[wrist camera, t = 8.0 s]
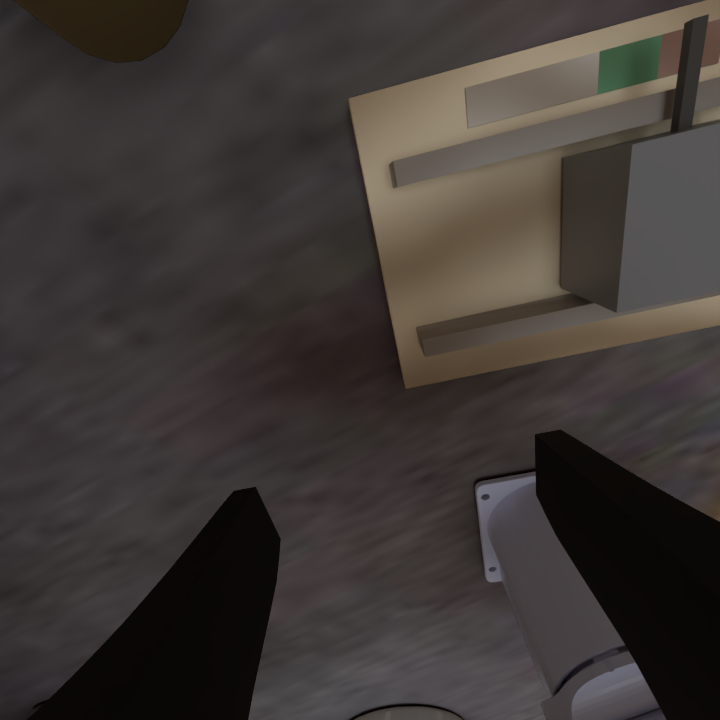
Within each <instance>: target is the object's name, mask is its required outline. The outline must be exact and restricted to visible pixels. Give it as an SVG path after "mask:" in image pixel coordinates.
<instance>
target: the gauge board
mask: <svg viewBox="0 0 720 720" xmlns="http://www.w3.org/2000/svg"><path fill="white" fill-rule="evenodd" d="M708 14H709V18H708V25H707V31H706V38H705V44H704V51H703V57H702V64H701V70H700V77H699V83H698V90H697V96H696V103H695V109H694V116H693V122H692V125H696V124H700V123H704V122H709V121H713V120H718V119H720V0H705V1H702V2H698V3H694V4H691V5H687V6H684V7H680V8H676V9H673V10H669V11H665V12H662V13H658V14H654V15H651V16H647V17H644V18H640V19H636V20H633V21H629V22H625V23H622V24H618V25H614V26H611V27H607V28H604V29H600V30H596V31H593V32H589V33H585V34H582V35H578V36H574V37H571V38H567V39H564V40H560V41H556V42H553V43H549V44H545V45H542V46H538V47H534V48H531V49H527V50H524V51H520V52H516V53H513V54H509V55H505V56H502V57H498V58H494V59H491V60H487V61H484V62H480V63H476V64H473V65H469V66H465V67H462V68H458V69H454V70H451V71H447V72H443V73H440V74H436V75H433V76H429V77H425V78H422V79H418V80H414V81H411V82H407V83H403V84H400V85H396V86H393V87H389V88H385V89H382V90H378V91H374V92H371V93H367V94H363V95H360V96H356V97H353V98H349V99H348V100H349V110H350V115H351V120H352V125H353V130H354V135H355V140H356V145H357V150H358V155H359V160H360V165H361V171H362V176H363V181H364V186H365V191H366V196H367V201H368V206H369V211H370V216H371V221H372V226H373V231H374V236H375V241H376V246H377V251H378V256H379V261H380V266H381V271H382V276H383V282H384V287H385V292H386V297H387V302H388V307H389V312H390V317H391V322H392V327H393V332H394V337H395V342H396V347H397V352H398V357H399V362H400V367H401V372H402V377H403V381H404V385H405V388H406V389H408V388H413V387H418V386H423V385H428V384H433V383H438V382H443V381H448V380H452V379H457V378H462V377H467V376H472V375H477V374H482V373H487V372H492V371H497V370H502V369H506V368H511V367H516V366H521V365H526V364H531V363H536V362H541V361H546V360H551V359H555V358H560V357H565V356H570V355H575V354H580V353H585V352H590V351H595V350H600V349H605V348H609V347H614V346H619V345H624V344H629V343H634V342H639V341H644V340H649V339H654V338H658V337H663V336H668V335H673V334H678V333H683V332H688V331H693V330H698V329H703V328H708V327H712V326H717V325H720V291H718V292H714V293H709V294H704V295H700V296H695V297H690V298H685V299H681V300H676V301H671V302H666V303H662V304H657V305H652V306H647V307H643V308H638V309H633V310H628V311H624V312H619V313H616V312H613V311H611V310H609V309H607V308H604V307H602V306H600V305H598V304H595V303H593V302H591V301H589V300H586V299H584V298H582V297H580V296H577V295H575V294H573V293H571V292H568V291H566V290H564V289H562V288H561V261H562V214H563V167H564V157H567V156H571V155H575V154H579V153H583V152H587V151H592V150H596V149H600V148H604V147H608V146H612V145H616V144H620V143H624V142H628V141H632V140H636V139H640V138H644V137H648V136H652V135H656V134H660V133H664V132H668V131H670V129H671V122H672V114H673V106H674V99H675V91H676V84H677V76H678V68H679V61H680V53H681V46H682V38H683V30H684V23H686V22H688V21H690V20H692V19H693V18H697V17H701V16H704V15H708Z"/></svg>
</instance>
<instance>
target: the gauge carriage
mask: <svg viewBox="0 0 720 720" xmlns="http://www.w3.org/2000/svg"><path fill="white" fill-rule="evenodd" d="M708 18H709V14H708V15H704V16H701V17H697V18H693V19H692V20H690V21H688V22H686V23H684V30H683V38H682V46H681V53H680V61H679V68H678V76H677V84H676V91H675V99H674V106H673V114H672V122H671V129H670V131H668V132H664V133H660V134H656V135H652V136H648V137H644V138H640V139H636V140H632V141H628V142H624V143H620V144H616V145H612V146H608V147H604V148H600V149H596V150H592V151H587V152H583V153H579V154H575V155H571V156H567V157H564V167H563V214H562V261H561V288H562V289H564V290H566V291H568V292H571V293H573V294H575V295H577V296H580V297H582V298H584V299H586V300H589V301H591V302H593V303H595V304H598V305H600V306H602V307H604V308H607V309H609V310H611V311H613V312H616V313H619V312H624V311H628V310H633V309H638V308H643V307H647V306H652V305H657V304H662V303H666V302H671V301H676V300H681V299H685V298H690V297H695V296H700V295H704V294H709V293H714V292H718V291H720V119H718V120H713V121H709V122H704V123H700V124H696V125H692V122H693V116H694V109H695V103H696V96H697V90H698V83H699V77H700V70H701V64H702V57H703V51H704V44H705V38H706V31H707V25H708Z"/></svg>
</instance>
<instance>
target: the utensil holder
mask: <svg viewBox="0 0 720 720" xmlns="http://www.w3.org/2000/svg"><path fill="white" fill-rule="evenodd" d="M354 720H462V719H461V718H460V717H458V716H456V715H455V714H453V713H450V712H448V711H444V710H441V709H437V708H431V707H420V706H405V707H393V708H386V709H381V710H377V711H374V712H371V713H368V714H365V715H362V716H360V717H358V718H356V719H354Z"/></svg>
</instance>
